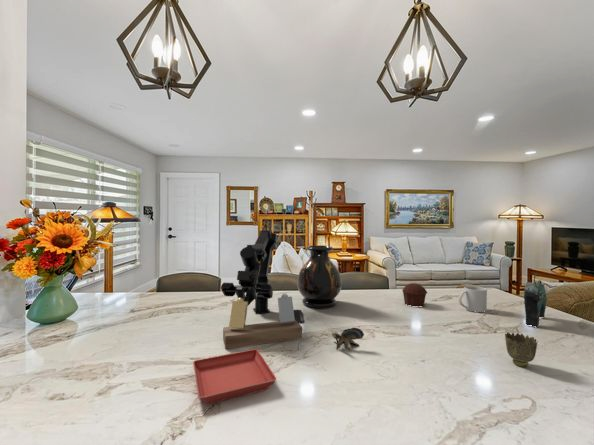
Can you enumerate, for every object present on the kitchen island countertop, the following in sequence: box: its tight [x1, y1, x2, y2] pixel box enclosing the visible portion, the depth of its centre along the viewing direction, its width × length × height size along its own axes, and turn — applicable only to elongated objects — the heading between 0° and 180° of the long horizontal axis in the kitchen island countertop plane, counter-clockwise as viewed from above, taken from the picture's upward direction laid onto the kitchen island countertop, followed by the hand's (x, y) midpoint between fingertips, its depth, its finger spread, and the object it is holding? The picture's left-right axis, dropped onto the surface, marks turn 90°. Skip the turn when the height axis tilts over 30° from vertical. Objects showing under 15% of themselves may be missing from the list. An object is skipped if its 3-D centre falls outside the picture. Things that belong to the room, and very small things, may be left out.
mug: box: [458, 285, 488, 313], centre depth 135 cm, size 11×10×10 cm
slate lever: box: [277, 293, 295, 323], centre depth 106 cm, size 2×5×10 cm, turn 109°
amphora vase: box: [296, 245, 343, 309], centre depth 143 cm, size 22×22×28 cm
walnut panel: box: [222, 320, 303, 350], centre depth 101 cm, size 8×26×4 cm, turn 109°
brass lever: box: [228, 297, 249, 328], centre depth 100 cm, size 2×5×10 cm, turn 82°
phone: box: [293, 309, 305, 324], centre depth 124 cm, size 8×1×15 cm
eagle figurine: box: [331, 327, 365, 351], centre depth 95 cm, size 8×7×9 cm
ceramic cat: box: [523, 273, 548, 328], centre depth 120 cm, size 20×6×20 cm, turn 131°
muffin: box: [402, 282, 428, 307], centre depth 143 cm, size 12×11×10 cm
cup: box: [504, 332, 539, 368], centre depth 84 cm, size 8×7×8 cm
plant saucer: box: [192, 348, 277, 405], centre depth 75 cm, size 18×18×3 cm
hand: (241, 311), depth 103 cm, fingers closed
